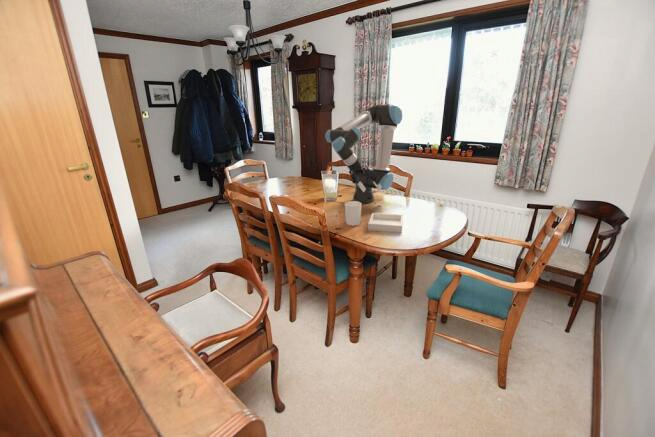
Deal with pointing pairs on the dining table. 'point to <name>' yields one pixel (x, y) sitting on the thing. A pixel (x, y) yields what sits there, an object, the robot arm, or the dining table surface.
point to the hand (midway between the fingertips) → (372, 189)
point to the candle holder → (353, 212)
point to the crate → (386, 222)
